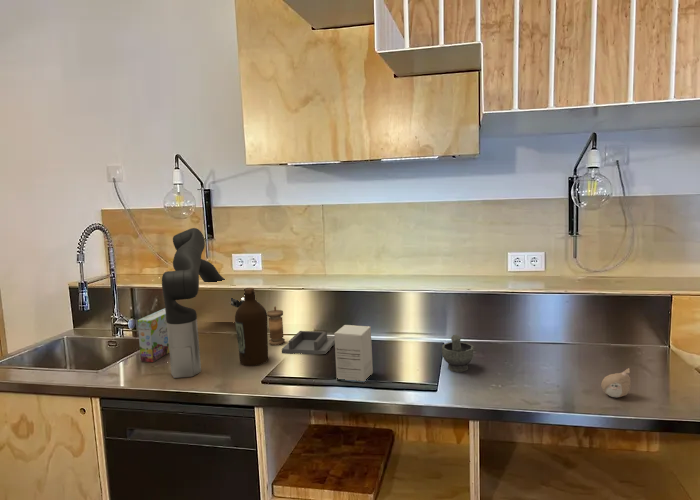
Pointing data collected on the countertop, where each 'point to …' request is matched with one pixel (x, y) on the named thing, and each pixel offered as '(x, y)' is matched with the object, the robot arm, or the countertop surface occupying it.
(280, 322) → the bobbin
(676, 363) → the countertop surface
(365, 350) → the supplement box
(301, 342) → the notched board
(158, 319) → the snack box
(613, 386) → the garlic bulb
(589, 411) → the countertop surface
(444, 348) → the mortar and pestle
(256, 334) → the olive oil
